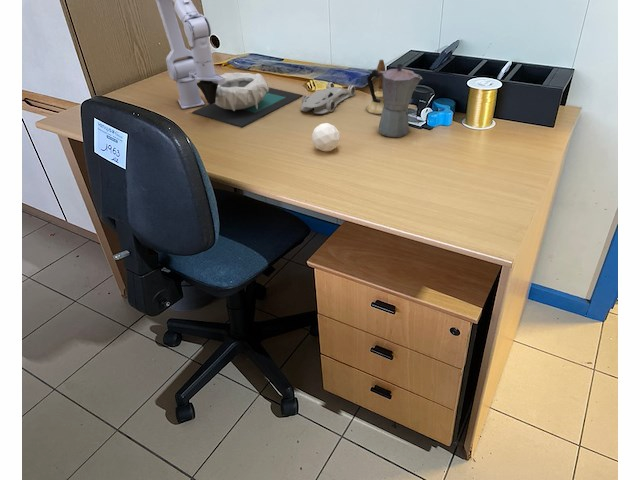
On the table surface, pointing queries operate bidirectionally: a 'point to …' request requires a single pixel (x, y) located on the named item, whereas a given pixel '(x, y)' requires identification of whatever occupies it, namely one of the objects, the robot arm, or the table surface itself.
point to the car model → (326, 99)
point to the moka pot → (394, 99)
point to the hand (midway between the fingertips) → (211, 103)
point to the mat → (249, 108)
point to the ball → (325, 137)
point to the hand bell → (378, 93)
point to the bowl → (241, 91)
